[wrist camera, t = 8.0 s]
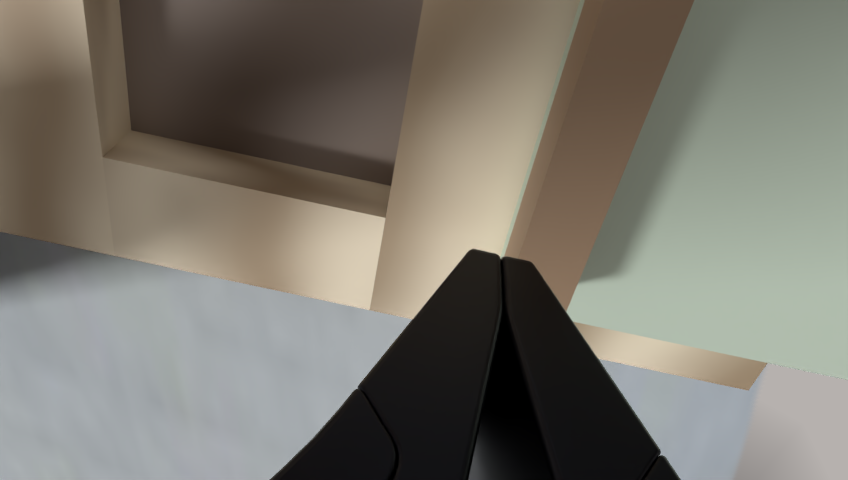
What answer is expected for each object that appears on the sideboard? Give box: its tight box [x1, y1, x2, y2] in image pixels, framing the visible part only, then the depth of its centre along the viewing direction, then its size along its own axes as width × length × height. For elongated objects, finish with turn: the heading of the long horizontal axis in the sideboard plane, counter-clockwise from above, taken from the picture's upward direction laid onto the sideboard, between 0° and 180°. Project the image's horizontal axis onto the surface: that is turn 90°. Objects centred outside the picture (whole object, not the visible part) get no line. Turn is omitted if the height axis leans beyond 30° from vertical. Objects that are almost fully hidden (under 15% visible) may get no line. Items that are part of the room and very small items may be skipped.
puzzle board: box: [0, 0, 767, 390], centre depth 17 cm, size 24×15×2 cm, turn 80°
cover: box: [500, 0, 848, 380], centre depth 15 cm, size 11×11×3 cm
